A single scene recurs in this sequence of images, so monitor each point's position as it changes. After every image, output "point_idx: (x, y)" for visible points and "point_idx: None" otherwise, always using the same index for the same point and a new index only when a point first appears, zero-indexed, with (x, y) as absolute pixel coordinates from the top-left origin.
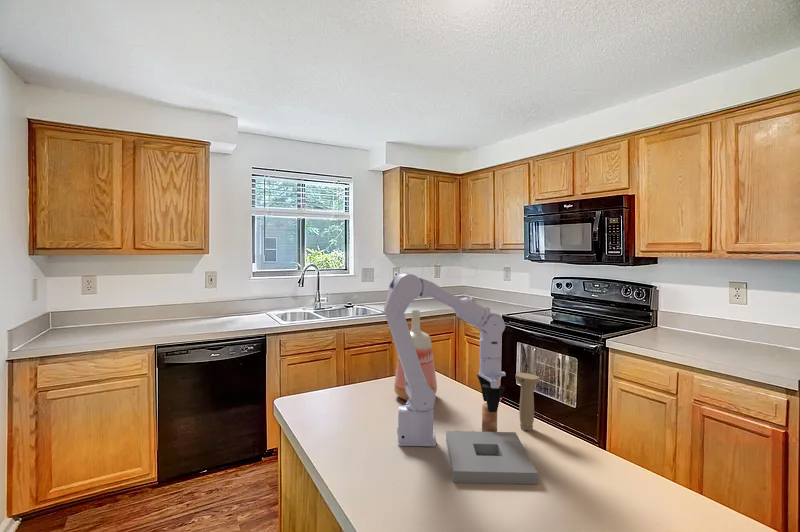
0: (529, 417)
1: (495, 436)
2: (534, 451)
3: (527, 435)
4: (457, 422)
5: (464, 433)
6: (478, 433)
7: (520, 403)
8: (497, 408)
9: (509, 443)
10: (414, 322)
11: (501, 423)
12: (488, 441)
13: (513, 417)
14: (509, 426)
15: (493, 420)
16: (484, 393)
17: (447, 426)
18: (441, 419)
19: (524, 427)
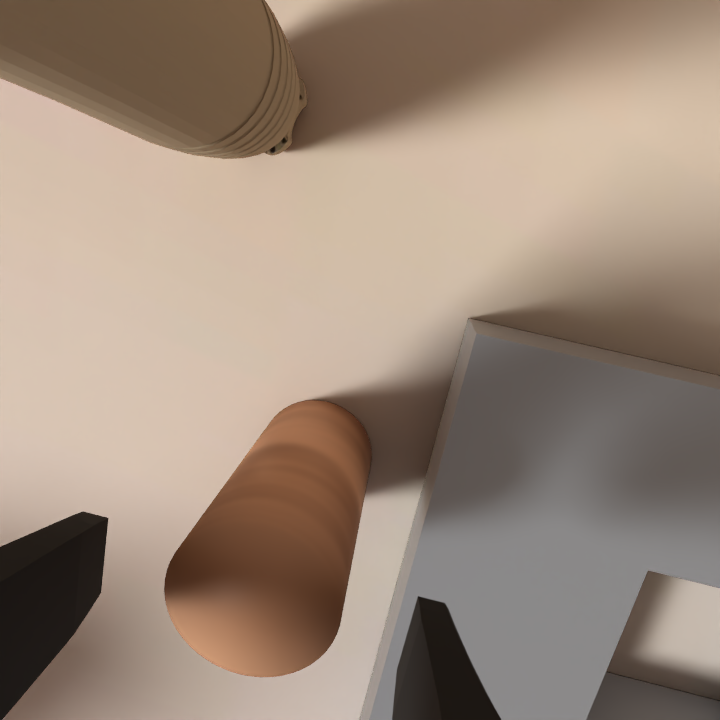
0: (291, 77)
1: (513, 527)
2: (660, 245)
3: (379, 160)
4: None
5: None
6: None
7: (150, 134)
8: (457, 631)
9: (666, 480)
10: None
11: (130, 276)
12: (582, 610)
13: (11, 110)
14: (192, 235)
15: (358, 517)
16: (30, 662)
17: (156, 660)
18: None
19: (289, 142)
